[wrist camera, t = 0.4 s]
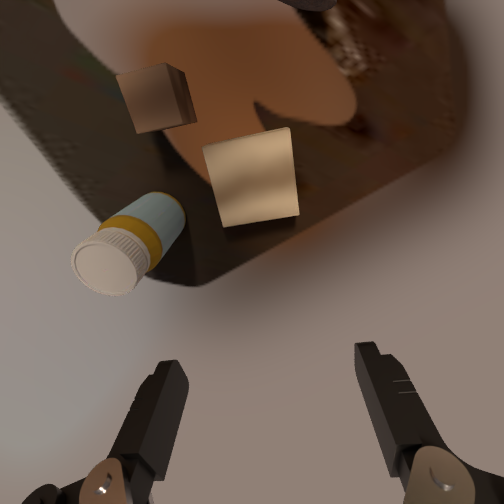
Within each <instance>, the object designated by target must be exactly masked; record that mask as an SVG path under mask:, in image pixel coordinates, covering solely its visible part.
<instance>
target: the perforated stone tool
mask: <svg viewBox="0 0 504 504" xmlns="http://www.w3.org/2000/svg"><path fill="white" fill-rule="evenodd" d="M279 1H281V2H283V3H285V4H287V5H290V6H292V7H295V8H299V9H303V10H308V11H325V10H328V9H331V8H332V7H333V6H334V5H335V4H336V2H337V0H279Z"/></svg>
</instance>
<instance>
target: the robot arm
mask: <svg viewBox="0 0 504 504" xmlns="http://www.w3.org/2000/svg"><path fill="white" fill-rule="evenodd" d="M355 371H356V376H357V379H358V382H359V385H360V388H361V391H362V394H363V397H364V400H365V403H366V406H367V409H368V412H369V415H370V418H371V421H372V424H373V427H374V430H375V433H376V436H377V438H378V442H379V444H380V447H381V450H382V453H383V456H384V459H385V462H386V465H387V468H388V471H389V474H390V477H400V480H401V483H402V485H403V488H404V491H405V497H404V501H403V504H504V477H501V476H498V475H495V474H491V473H488V472H485V471H482V470H479V469H477V468H474V467H472V466H470V465H468V464H467V463H465V462H464V461H462V460H461V459H460V458H458V457H457V456H456V455H455V454H454V453H453V452H452V451H451V450H450V449H449V448H448V447H447V445H446V444H445V443H444V441H443V440H442V438H441V436H440V434H439V432H438V430H437V429H436V427H435V425H434V423H433V421H432V420H431V417H430V416H429V414H428V412H427V410H426V408H425V406H424V404H423V402H422V400H421V399H420V397H419V395H418V393H417V392H416V389H415V388H414V385H413V384H412V382H411V381H410V378H409V376H408V374H407V372H406V371H405V369H404V367H403V365H402V364H401V363H400V362H399V361H398V360H397V359H396V358H395V357H393V356H392V355H391V354H387V355H381V354H380V352H379V350H378V348H377V346H376V344H375V343H374V342H373V341H372V342H361V343H355ZM188 390H189V382H188V379H187V376H186V375H185V373H184V371H183V369H182V367H181V365H180V364H179V362H178V360H168V361H161V362H159V363H158V365H157V367H156V369H155V372H154V374H153V375H149V376H148V377H147V378H146V379H145V381H144V382H143V383H142V384H141V386H140V388H139V390H138V392H137V394H136V396H135V400H134V401H133V403H132V405H131V407H130V411H129V412H128V414H127V416H126V418H125V420H124V423H123V425H122V427H121V429H120V431H119V433H118V436H117V438H116V440H115V442H114V445H113V447H112V449H111V451H110V453H109V455H108V456H107V458H106V459H105V460H103V461H101V462H100V463H99V464H97V465H96V466H95V467H94V468H93V469H92V470H91V472H90V473H89V474H88V476H87V477H85V478H83V479H81V480H79V481H77V482H74V483H72V484H70V485H68V486H65V487H63V488H61V489H59V488H57V487H56V486H55V485H53V484H46V485H43V486H41V487H39V488H38V489H36V490H35V491H34V492H32V493H31V494H30V495H29V496H28V497H27V498H26V499H25V500H24V501H23V502H22V504H154V502H153V498H152V494H151V488H152V485H153V481H164V479H165V475H166V471H167V467H168V464H169V460H170V456H171V453H172V450H173V446H174V442H175V438H176V435H177V431H178V428H179V424H180V420H181V417H182V413H183V410H184V406H185V402H186V399H187V395H188Z"/></svg>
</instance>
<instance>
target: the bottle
mask: <svg viewBox="0 0 504 504" xmlns="http://www.w3.org/2000/svg"><path fill="white" fill-rule="evenodd" d="M185 222H186V217H185V212H184V210H183V207H182V206H181V204H180V203H179V202H178V201H177V200H176V199H175V198H174V197H172V196H171V195H169V194H166V193H163V192H151V193H148V194H146V195H144V196H143V197H141V198H139V199H138V200H136V201H135V202H133V203H132V204H130V205H129V206H127V207H126V208H124V209H123V210H121V211H119V212H118V213H116V214H115V215H113V216H112V217H110V218H109V219H107V220H106V221H105V222H104V223H103V224H101V225H100V227H99V229H98V231H97V232H96V233H95V234H93V235H92V236H90V237H89V238H87V239H86V240H85V241H83V242H81V243H80V244H79V245H78V246H77V247H76V248H75V249H74V251H73V253H72V256H71V264H72V268H73V271H74V273H75V274H76V276H77V277H78V278H79V280H80V281H81V282H82V283H83V284H85V285H86V286H87V287H88V288H90V289H92V290H93V291H95V292H98V293H100V294H104V295H108V296H120V295H124V294H126V293H128V292H130V291H131V290H133V288H135V286H136V285H137V284H138V282H139V281H140V280H141V279H142V277H143V276H144V274H145V273H146V272H148V271H150V270H152V269H153V268H154V267H155V266H156V265H157V264H158V263H159V261H160V260H161V259H162V257H163V256H164V255H165V253H166V252H167V251H168V249H169V248H170V246H171V245H172V244H173V242H174V241H175V240H176V238H177V237H178V236H179V234H180V233H181V231H182V230H183V228H184V226H185Z"/></svg>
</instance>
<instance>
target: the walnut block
mask: <svg viewBox="0 0 504 504" xmlns="http://www.w3.org/2000/svg"><path fill="white" fill-rule="evenodd" d="M116 78H117V81H118V83H119V86H120V89H121V91H122V94H123V97H124V99H125V102H126V105H127V107H128V110H129V113H130V115H131V118H132V121H133V123H134V126H135V129H136V131H137V134H139V133H146V132H153V131H160V130H164V129H169V128H173V127H177V126H182V125H186V124H191V123H195V122H197V118H196V115H195V111H194V108H193V103H192V100H191V96H190V92H189V89H188V84H187V81H186V77H185V73H184V72H182V71H180V70H178V69H176V68H174V67H173V66H171V65H169V64H167V63H162V64H158V65H155V66H151V67H147V68H143V69H140V70H136V71H132V72H128V73H124V74H121V75H117V76H116Z"/></svg>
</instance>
